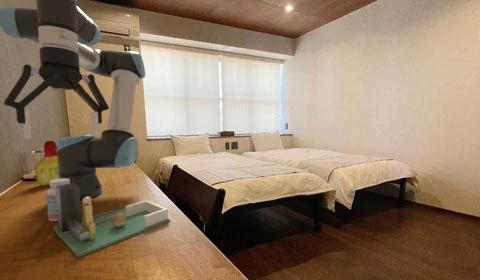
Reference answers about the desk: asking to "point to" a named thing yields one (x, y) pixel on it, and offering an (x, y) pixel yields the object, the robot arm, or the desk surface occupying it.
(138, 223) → the board
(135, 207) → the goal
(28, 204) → the desk surface
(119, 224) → the ball
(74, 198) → the block
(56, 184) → the pill bottle
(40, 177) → the bottle
